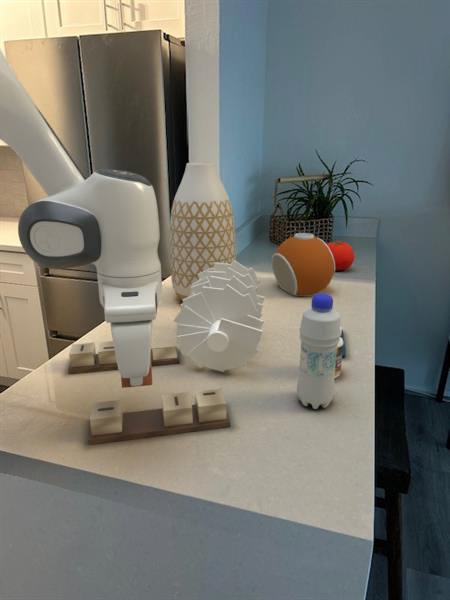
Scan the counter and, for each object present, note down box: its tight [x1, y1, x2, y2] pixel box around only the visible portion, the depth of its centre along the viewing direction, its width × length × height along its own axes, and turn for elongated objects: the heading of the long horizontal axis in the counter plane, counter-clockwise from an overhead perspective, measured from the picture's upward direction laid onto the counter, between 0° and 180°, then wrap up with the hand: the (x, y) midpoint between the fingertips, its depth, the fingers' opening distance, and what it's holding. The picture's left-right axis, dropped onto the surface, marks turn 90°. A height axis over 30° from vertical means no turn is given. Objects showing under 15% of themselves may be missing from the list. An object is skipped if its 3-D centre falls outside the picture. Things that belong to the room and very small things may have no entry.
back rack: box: [67, 340, 180, 375], centre depth 89 cm, size 22×6×4 cm, turn 101°
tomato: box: [326, 239, 355, 272], centre depth 153 cm, size 11×13×10 cm
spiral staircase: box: [173, 260, 266, 373], centre depth 92 cm, size 18×18×25 cm
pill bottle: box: [334, 325, 343, 379], centre depth 84 cm, size 6×6×10 cm
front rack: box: [87, 388, 231, 446], centre depth 69 cm, size 22×6×4 cm, turn 101°
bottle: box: [296, 293, 341, 410], centre depth 72 cm, size 7×7×20 cm
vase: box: [169, 162, 237, 301], centre depth 120 cm, size 19×18×38 cm
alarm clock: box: [271, 232, 336, 297], centre depth 131 cm, size 19×18×17 cm
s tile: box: [120, 354, 153, 389], centre depth 66 cm, size 4×4×3 cm
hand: (136, 373), depth 66 cm, fingers closed on s tile, 4 cm apart
